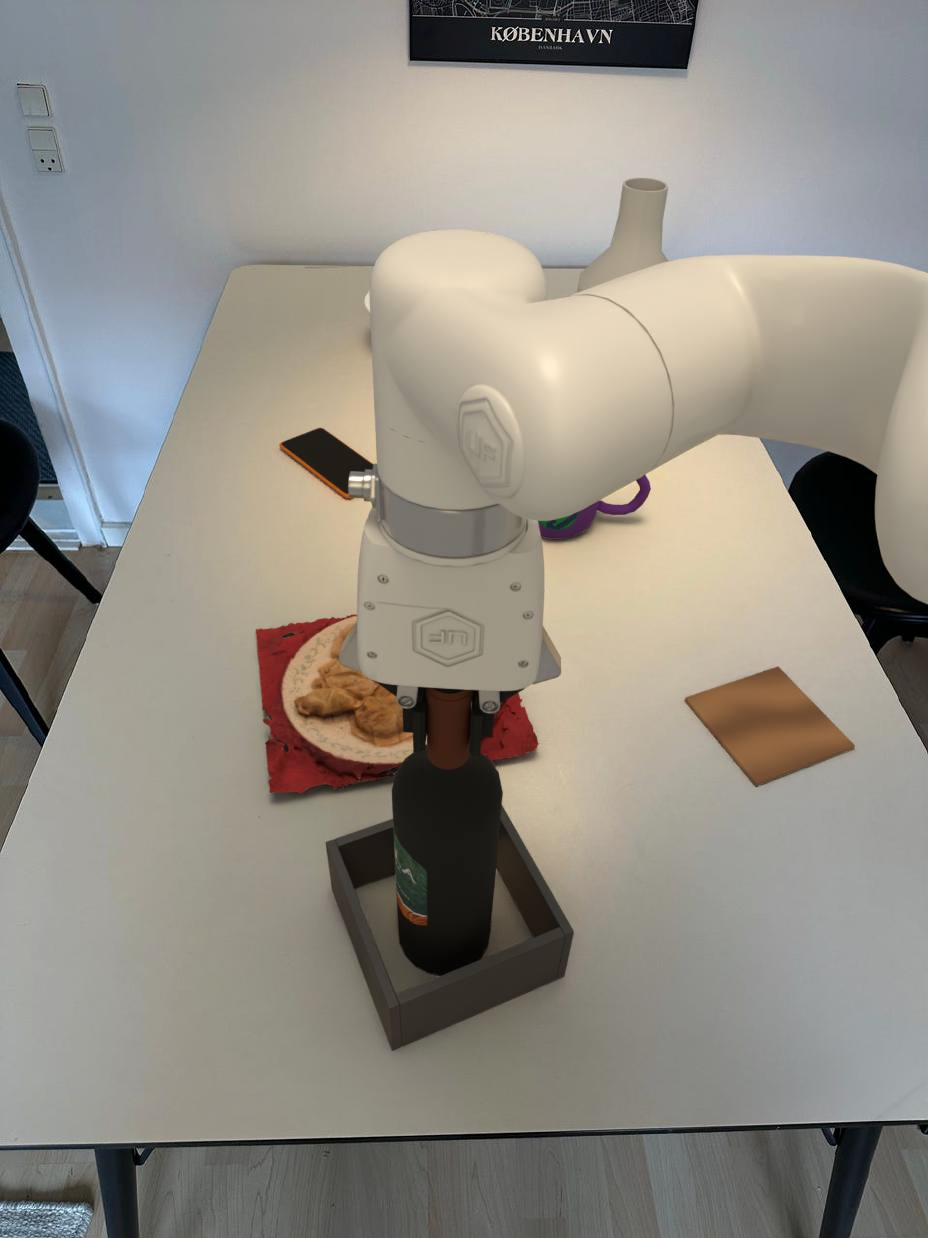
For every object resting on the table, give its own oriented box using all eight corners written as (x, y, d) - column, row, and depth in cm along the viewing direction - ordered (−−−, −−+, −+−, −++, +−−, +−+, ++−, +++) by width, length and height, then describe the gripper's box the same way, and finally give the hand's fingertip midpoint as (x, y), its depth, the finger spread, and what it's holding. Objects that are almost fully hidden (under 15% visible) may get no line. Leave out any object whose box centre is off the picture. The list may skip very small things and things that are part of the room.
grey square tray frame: (565, 976, 71) (574, 931, 67) (391, 1051, 67) (388, 1009, 62) (487, 832, 81) (491, 784, 76) (331, 889, 77) (325, 841, 72)
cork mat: (854, 749, 89) (855, 745, 89) (755, 787, 86) (757, 783, 85) (777, 669, 97) (778, 665, 97) (684, 700, 94) (685, 697, 93)
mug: (508, 543, 113) (513, 475, 106) (510, 491, 121) (515, 425, 114) (647, 551, 112) (661, 484, 105) (640, 499, 121) (652, 433, 114)
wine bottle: (473, 988, 70) (490, 740, 50) (383, 957, 72) (365, 705, 52) (501, 906, 76) (528, 650, 56) (417, 878, 77) (413, 621, 57)
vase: (656, 341, 156) (687, 167, 137) (679, 387, 144) (717, 203, 125) (561, 342, 155) (579, 166, 136) (576, 388, 143) (598, 202, 124)
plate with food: (539, 761, 87) (543, 737, 85) (270, 802, 82) (267, 778, 80) (480, 605, 105) (482, 582, 103) (255, 630, 100) (252, 606, 97)
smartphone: (346, 500, 118) (346, 495, 118) (278, 448, 127) (277, 442, 127) (392, 480, 122) (392, 475, 122) (322, 430, 131) (322, 425, 131)
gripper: (276, 534, 43) (310, 776, 55) (622, 553, 42) (578, 793, 55) (305, 449, 48) (330, 687, 60) (611, 465, 48) (574, 701, 60)
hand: (448, 735), depth 57 cm, fingers closed on wine bottle, 2 cm apart
